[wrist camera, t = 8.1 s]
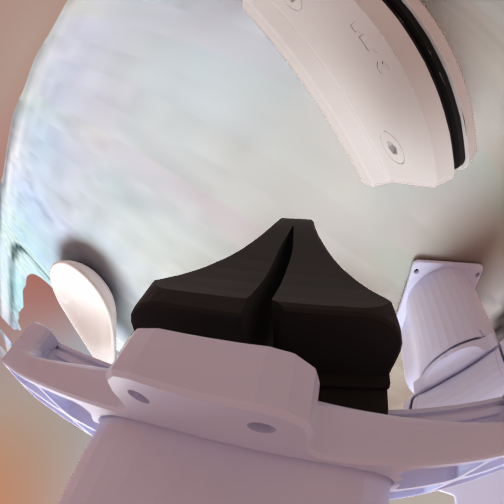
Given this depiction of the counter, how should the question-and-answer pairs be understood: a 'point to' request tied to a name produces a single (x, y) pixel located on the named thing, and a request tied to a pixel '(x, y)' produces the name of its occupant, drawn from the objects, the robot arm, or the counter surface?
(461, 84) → the white curved piece
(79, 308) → the spoon rest
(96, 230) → the counter surface
